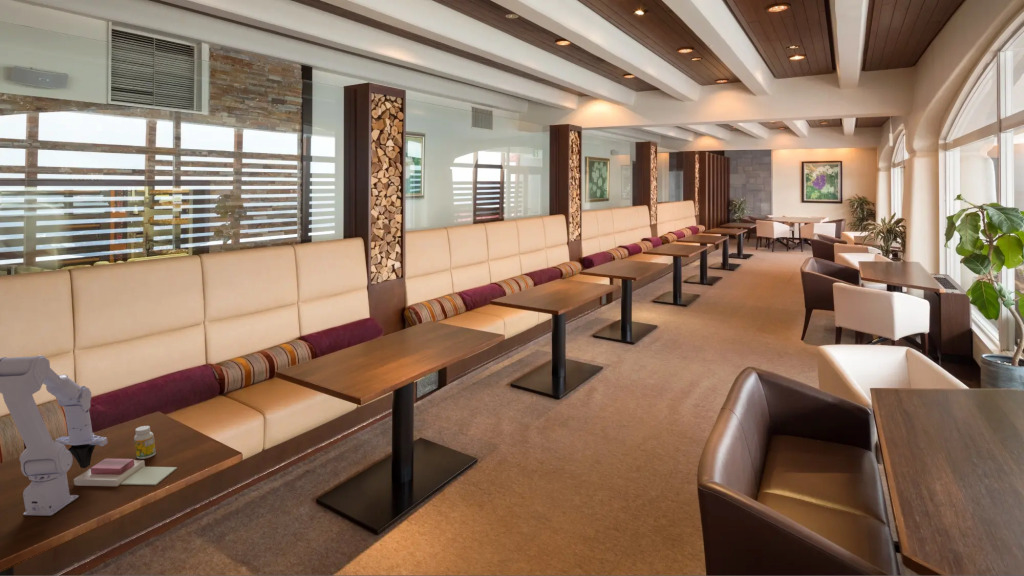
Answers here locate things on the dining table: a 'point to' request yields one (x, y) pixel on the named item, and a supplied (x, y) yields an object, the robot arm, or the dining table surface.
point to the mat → (148, 476)
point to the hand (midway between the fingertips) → (85, 466)
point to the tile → (112, 466)
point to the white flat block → (107, 477)
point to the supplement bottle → (144, 442)
